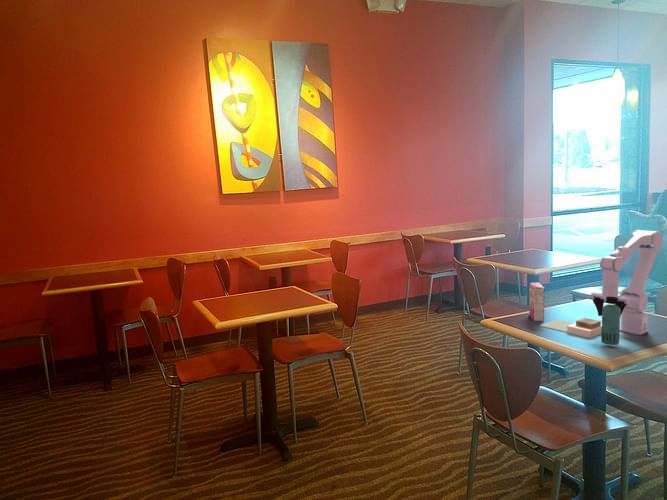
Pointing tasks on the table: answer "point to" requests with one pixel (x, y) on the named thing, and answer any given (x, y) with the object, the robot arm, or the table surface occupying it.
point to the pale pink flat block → (584, 330)
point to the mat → (557, 325)
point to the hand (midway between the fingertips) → (609, 317)
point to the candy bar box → (536, 301)
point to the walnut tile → (588, 323)
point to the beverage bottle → (611, 322)
